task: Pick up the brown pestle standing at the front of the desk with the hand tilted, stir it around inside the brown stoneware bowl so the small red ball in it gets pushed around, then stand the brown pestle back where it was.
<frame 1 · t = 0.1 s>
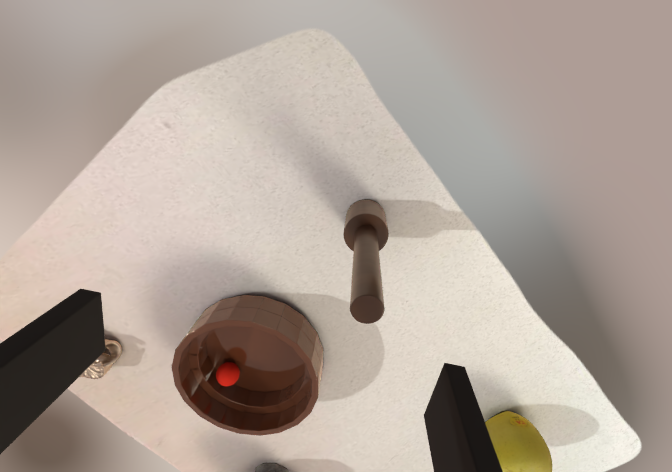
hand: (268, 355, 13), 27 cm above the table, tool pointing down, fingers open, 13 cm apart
bowl: (258, 348, 47), on the table
apple: (502, 422, 49), on the table
red ball: (227, 374, 46), point 2 cm above the table, touching bowl
brown pestle: (365, 218, 39), on the table
ornament: (98, 346, 49), on the table
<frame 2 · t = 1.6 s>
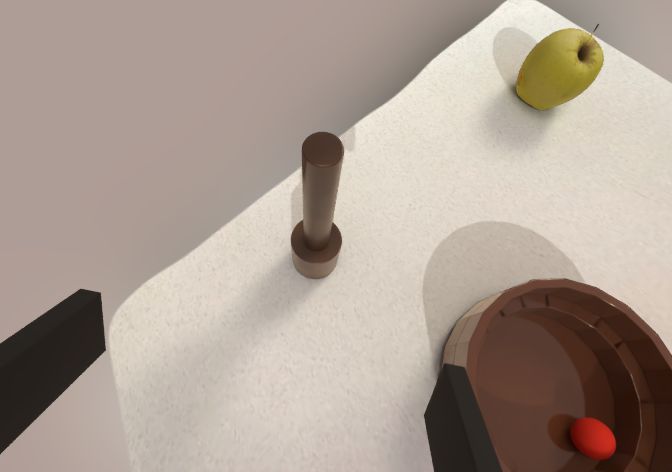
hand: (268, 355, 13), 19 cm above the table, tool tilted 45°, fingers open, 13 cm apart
bowl: (533, 390, 32), on the table
apple: (535, 98, 45), on the table
red ball: (592, 438, 28), point 2 cm above the table, touching bowl
brown pestle: (315, 257, 35), on the table
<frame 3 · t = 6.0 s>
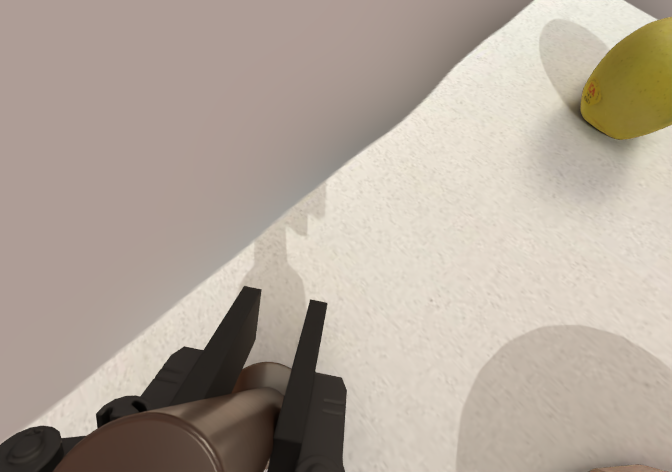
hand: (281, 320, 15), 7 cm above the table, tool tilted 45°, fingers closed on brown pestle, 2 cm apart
apple: (605, 120, 31), on the table
brown pestle: (273, 405, 20), on the table, touching gripper
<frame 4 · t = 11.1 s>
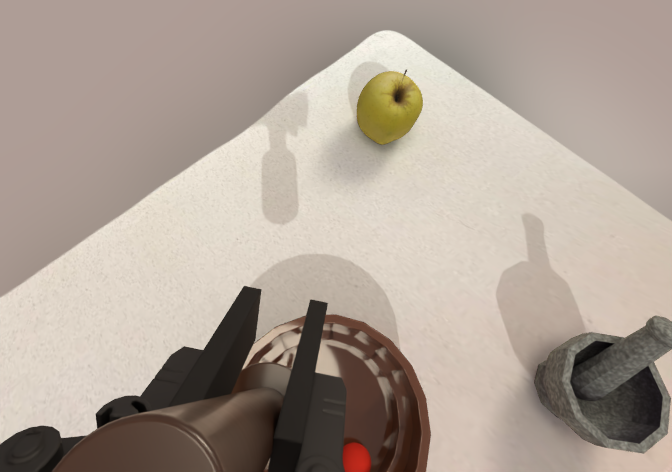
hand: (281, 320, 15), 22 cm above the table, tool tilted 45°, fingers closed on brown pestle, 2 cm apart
bowl: (321, 415, 34), on the table
apple: (381, 131, 48), on the table
red ball: (354, 462, 31), point 2 cm above the table, touching bowl
brown pestle: (273, 405, 20), point 15 cm above the table, touching gripper
mortar and pestle: (563, 380, 37), on the table
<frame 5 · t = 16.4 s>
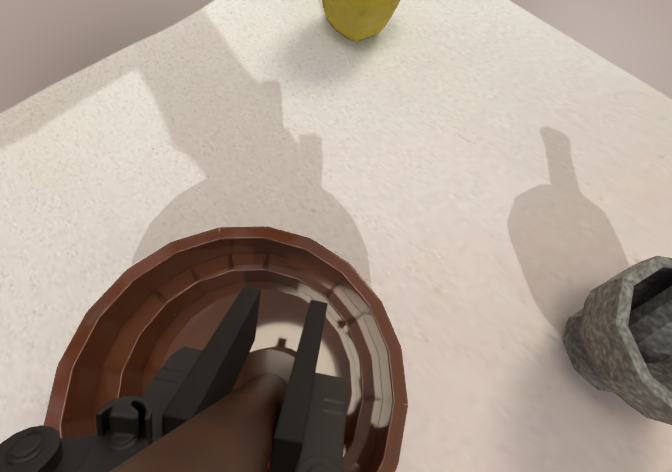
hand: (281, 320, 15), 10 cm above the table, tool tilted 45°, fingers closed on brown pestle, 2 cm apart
bowl: (252, 383, 23), on the table
apple: (356, 29, 37), on the table
brown pestle: (276, 385, 21), point 3 cm above the table, tilted 6°, touching gripper, red ball
mortar and pestle: (604, 339, 26), on the table
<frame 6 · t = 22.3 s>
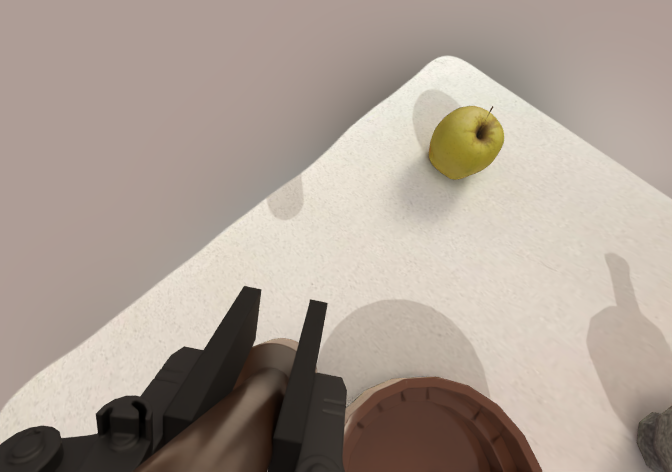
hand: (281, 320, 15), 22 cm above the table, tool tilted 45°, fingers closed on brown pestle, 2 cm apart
apple: (450, 164, 46), on the table
brown pestle: (280, 376, 21), point 15 cm above the table, tilted 9°, touching gripper
mortar and pestle: (666, 439, 35), on the table
when the fingers open (7 cm above the table, at t = 27.6 s): brown pestle stays where it is, on the table.
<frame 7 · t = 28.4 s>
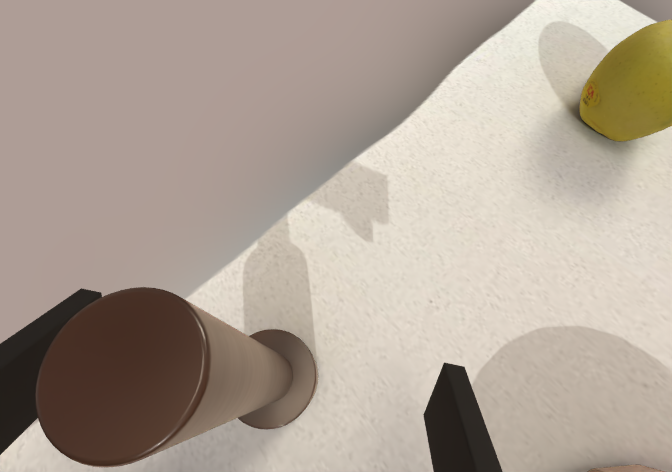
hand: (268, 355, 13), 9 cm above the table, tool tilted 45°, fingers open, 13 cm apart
apple: (604, 122, 31), on the table
brown pestle: (281, 377, 21), on the table
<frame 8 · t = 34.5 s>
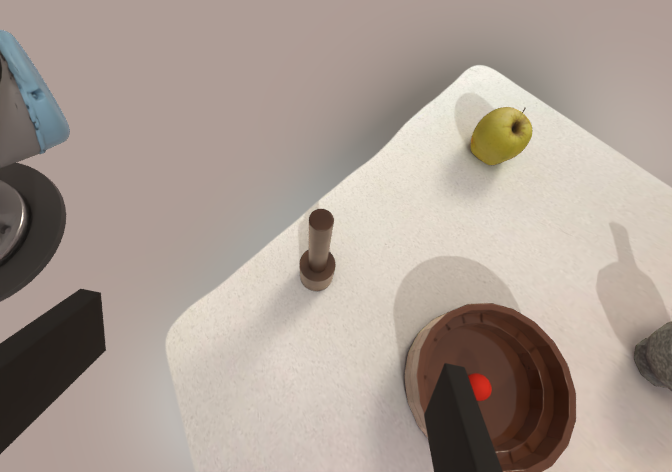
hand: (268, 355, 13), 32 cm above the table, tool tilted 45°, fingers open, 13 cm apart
bowl: (472, 383, 44), on the table
apple: (486, 153, 57), on the table
red ball: (477, 387, 41), point 2 cm above the table, tilted 155°, touching bowl
brown pestle: (316, 275, 47), on the table
mortar and pestle: (656, 357, 47), on the table
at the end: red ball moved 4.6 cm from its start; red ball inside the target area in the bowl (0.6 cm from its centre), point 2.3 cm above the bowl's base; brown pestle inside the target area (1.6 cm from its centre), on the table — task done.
